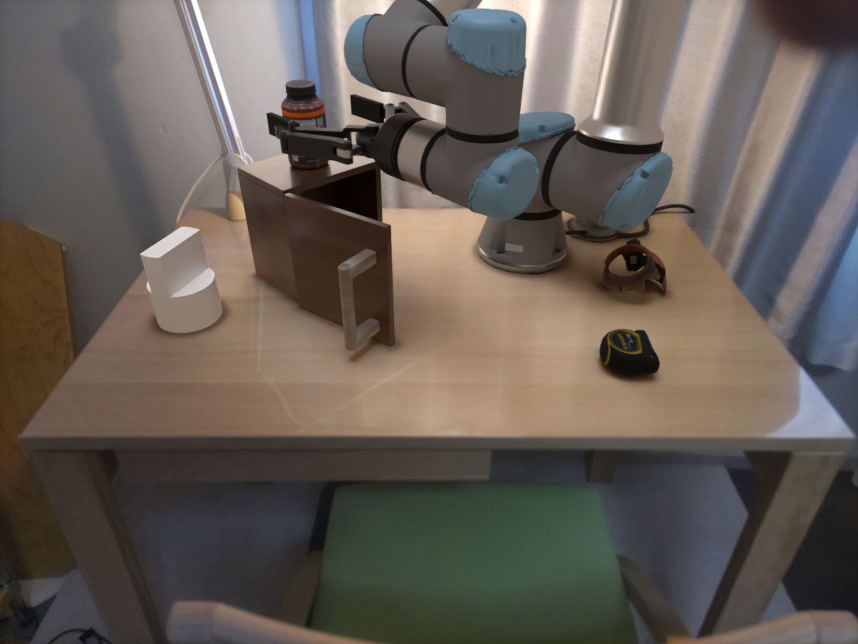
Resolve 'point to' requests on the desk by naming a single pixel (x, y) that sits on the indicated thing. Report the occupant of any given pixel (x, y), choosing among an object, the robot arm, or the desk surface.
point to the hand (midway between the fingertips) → (313, 113)
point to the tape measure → (629, 352)
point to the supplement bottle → (304, 116)
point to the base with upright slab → (181, 282)
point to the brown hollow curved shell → (634, 268)
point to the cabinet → (326, 184)
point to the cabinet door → (343, 269)
